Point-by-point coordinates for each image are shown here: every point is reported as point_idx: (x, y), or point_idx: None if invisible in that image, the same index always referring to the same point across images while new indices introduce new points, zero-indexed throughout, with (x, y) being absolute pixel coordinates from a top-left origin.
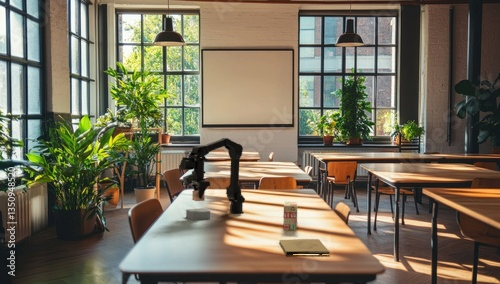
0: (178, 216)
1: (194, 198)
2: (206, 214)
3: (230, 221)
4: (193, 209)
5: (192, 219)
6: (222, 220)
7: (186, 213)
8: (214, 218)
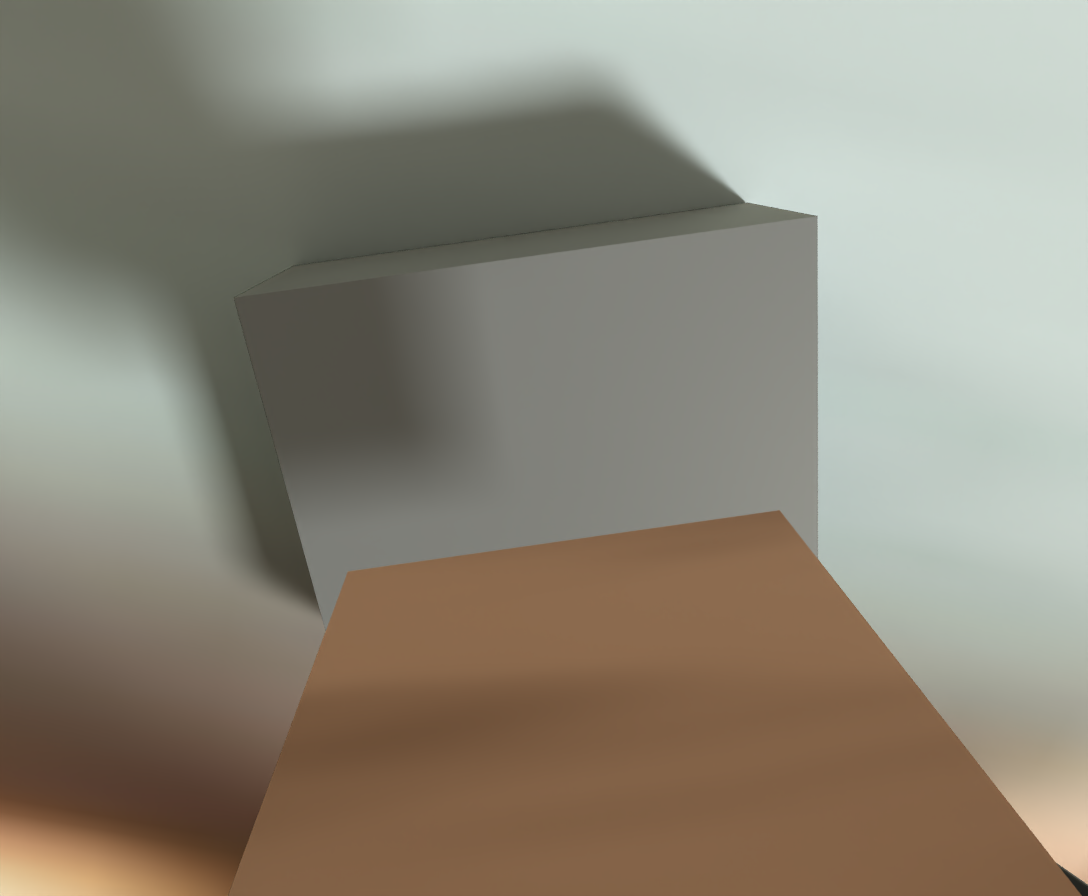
0: (872, 5)
1: (520, 604)
2: None
3: (63, 888)
4: (744, 428)
5: (306, 264)
6: (172, 799)
7: (757, 211)
8: None
